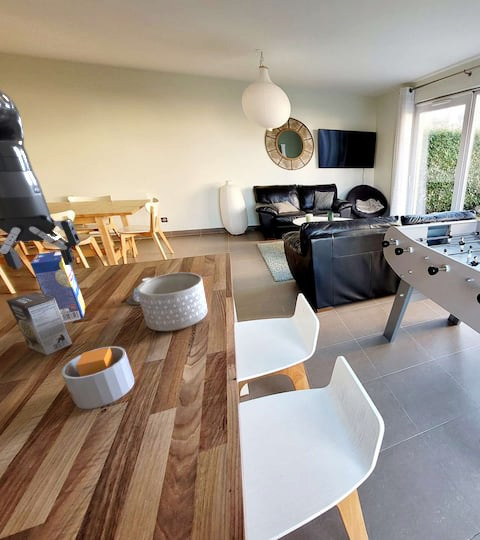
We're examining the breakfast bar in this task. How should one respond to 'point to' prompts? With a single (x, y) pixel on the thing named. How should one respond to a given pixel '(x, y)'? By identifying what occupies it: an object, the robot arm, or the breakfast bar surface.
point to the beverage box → (59, 284)
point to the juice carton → (95, 361)
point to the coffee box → (40, 322)
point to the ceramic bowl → (99, 381)
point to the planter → (172, 301)
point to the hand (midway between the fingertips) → (44, 266)
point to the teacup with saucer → (135, 296)
